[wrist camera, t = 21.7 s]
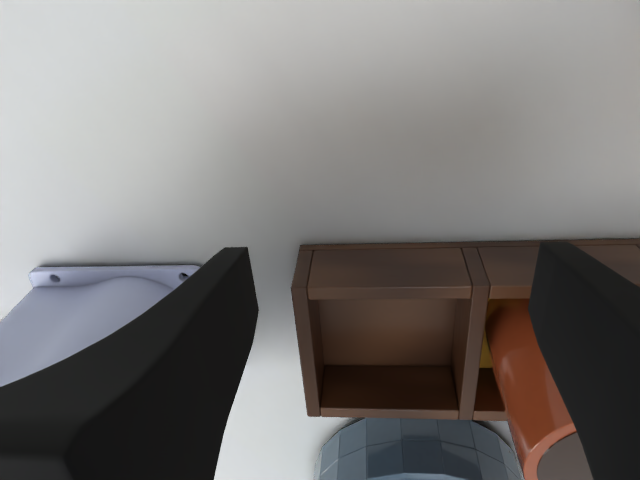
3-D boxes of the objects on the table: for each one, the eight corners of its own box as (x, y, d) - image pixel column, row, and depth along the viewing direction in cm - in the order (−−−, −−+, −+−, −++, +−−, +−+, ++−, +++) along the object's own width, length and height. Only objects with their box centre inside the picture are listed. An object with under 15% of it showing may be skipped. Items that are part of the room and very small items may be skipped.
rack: (313, 366, 28) (307, 417, 25) (300, 244, 24) (290, 287, 21) (605, 369, 26) (635, 424, 23) (647, 238, 22) (691, 283, 19)
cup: (475, 361, 26) (513, 512, 19) (486, 271, 23) (537, 412, 16) (590, 362, 25) (673, 519, 18) (617, 270, 22) (729, 416, 15)
